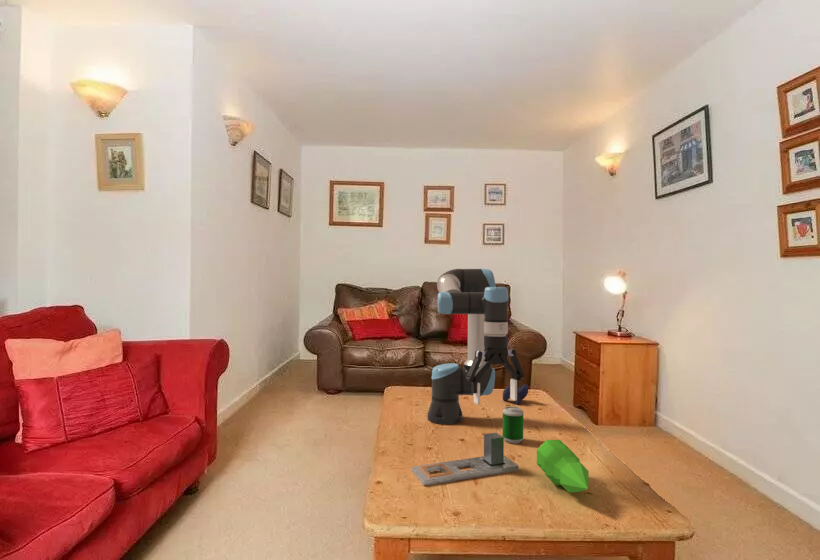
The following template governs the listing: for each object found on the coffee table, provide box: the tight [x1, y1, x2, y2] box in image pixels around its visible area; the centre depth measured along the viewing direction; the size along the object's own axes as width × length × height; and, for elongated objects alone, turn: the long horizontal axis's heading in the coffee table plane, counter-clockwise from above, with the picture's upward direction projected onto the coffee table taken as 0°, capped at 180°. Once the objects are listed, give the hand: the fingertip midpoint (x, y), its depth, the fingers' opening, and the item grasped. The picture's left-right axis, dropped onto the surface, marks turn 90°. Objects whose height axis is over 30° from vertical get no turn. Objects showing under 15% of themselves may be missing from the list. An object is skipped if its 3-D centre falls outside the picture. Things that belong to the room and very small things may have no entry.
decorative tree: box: [536, 439, 590, 493], centre depth 128 cm, size 11×12×30 cm
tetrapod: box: [502, 383, 530, 406], centre depth 217 cm, size 11×12×11 cm
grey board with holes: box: [411, 455, 520, 486], centre depth 138 cm, size 10×32×2 cm, turn 110°
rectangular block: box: [483, 432, 505, 466], centre depth 141 cm, size 4×4×10 cm
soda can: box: [502, 406, 524, 445], centre depth 164 cm, size 8×8×12 cm
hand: (495, 401), depth 141 cm, fingers open, 13 cm apart
